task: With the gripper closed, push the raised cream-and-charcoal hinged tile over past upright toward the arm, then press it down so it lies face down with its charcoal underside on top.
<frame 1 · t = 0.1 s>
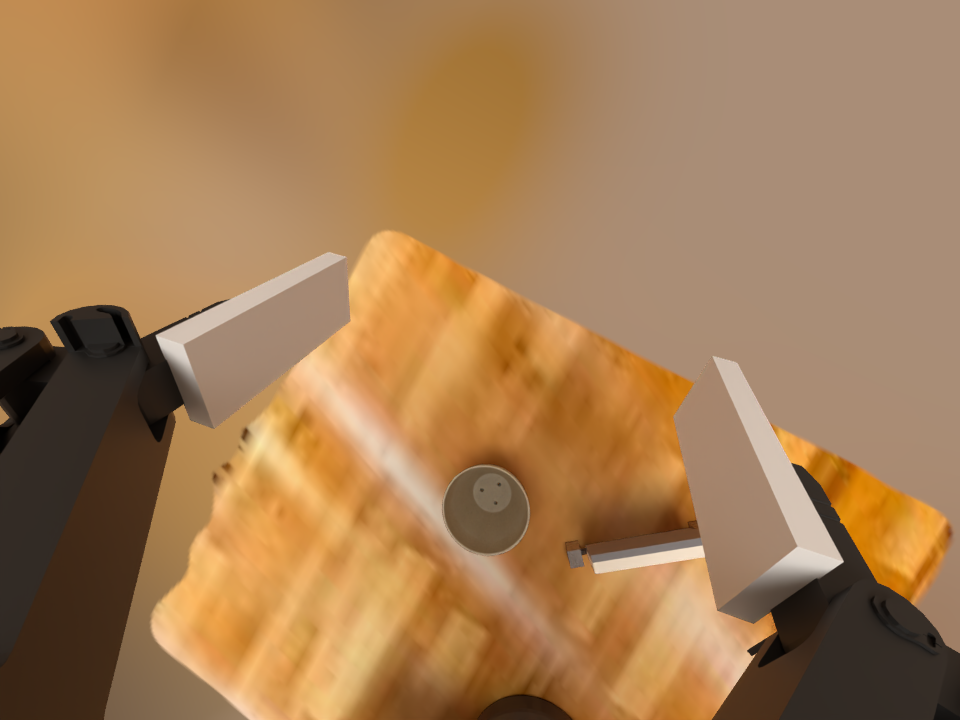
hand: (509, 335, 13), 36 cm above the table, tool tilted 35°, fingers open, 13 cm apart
hinge bracket: (633, 539, 46), on the table
flower pot: (492, 490, 49), on the table
tile: (647, 548, 39), point 8 cm above the table, hinge at 70.0°
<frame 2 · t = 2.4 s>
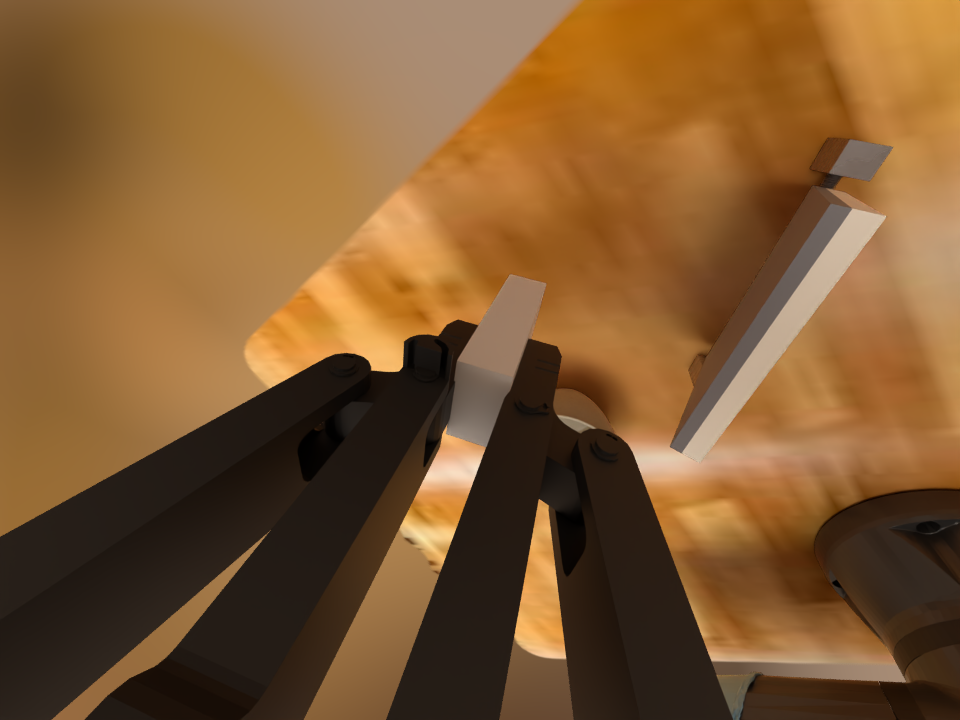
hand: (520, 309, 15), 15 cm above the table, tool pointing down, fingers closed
hinge bracket: (760, 278, 26), on the table
flower pot: (565, 407, 36), on the table
tile: (759, 315, 20), point 8 cm above the table, hinge at 70.0°
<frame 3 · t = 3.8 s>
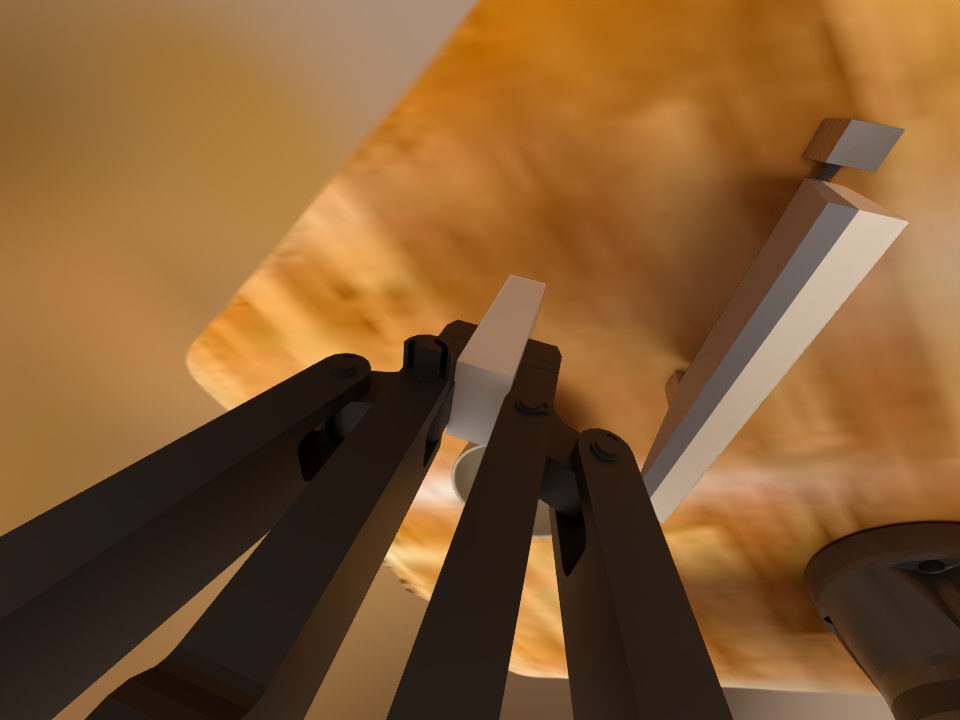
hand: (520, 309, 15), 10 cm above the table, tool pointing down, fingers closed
hinge bracket: (744, 287, 22), on the table
flower pot: (532, 426, 33), on the table
tile: (739, 338, 16), point 8 cm above the table, hinge at 70.0°
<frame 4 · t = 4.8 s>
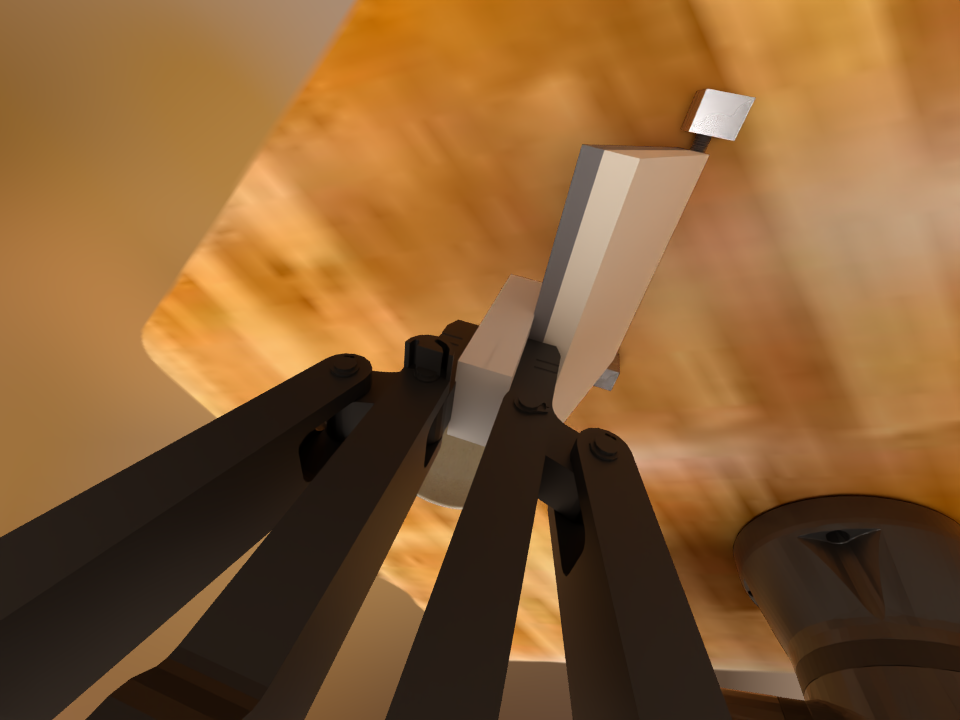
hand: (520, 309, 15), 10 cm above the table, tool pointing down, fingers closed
hinge bracket: (644, 260, 23), on the table
flower pot: (468, 403, 33), on the table
tile: (604, 300, 17), point 8 cm above the table, hinge at 70.6°, touching gripper
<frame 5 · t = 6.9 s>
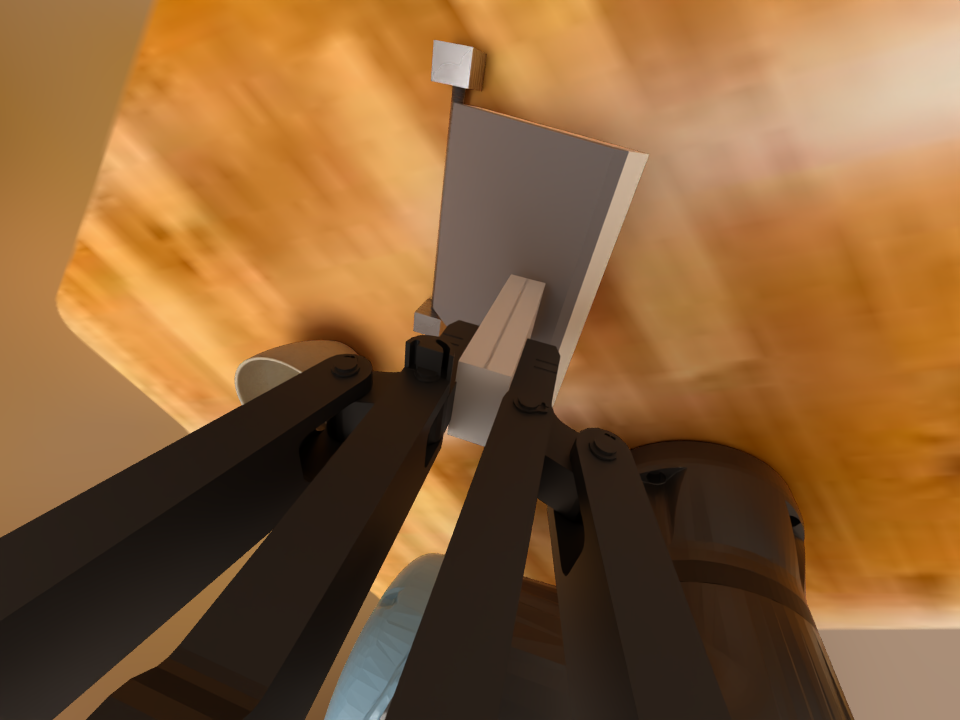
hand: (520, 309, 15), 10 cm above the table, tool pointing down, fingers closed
hinge bracket: (450, 212, 24), on the table
flower pot: (342, 362, 35), on the table
tile: (499, 260, 19), point 6 cm above the table, hinge at 133.4°, touching gripper
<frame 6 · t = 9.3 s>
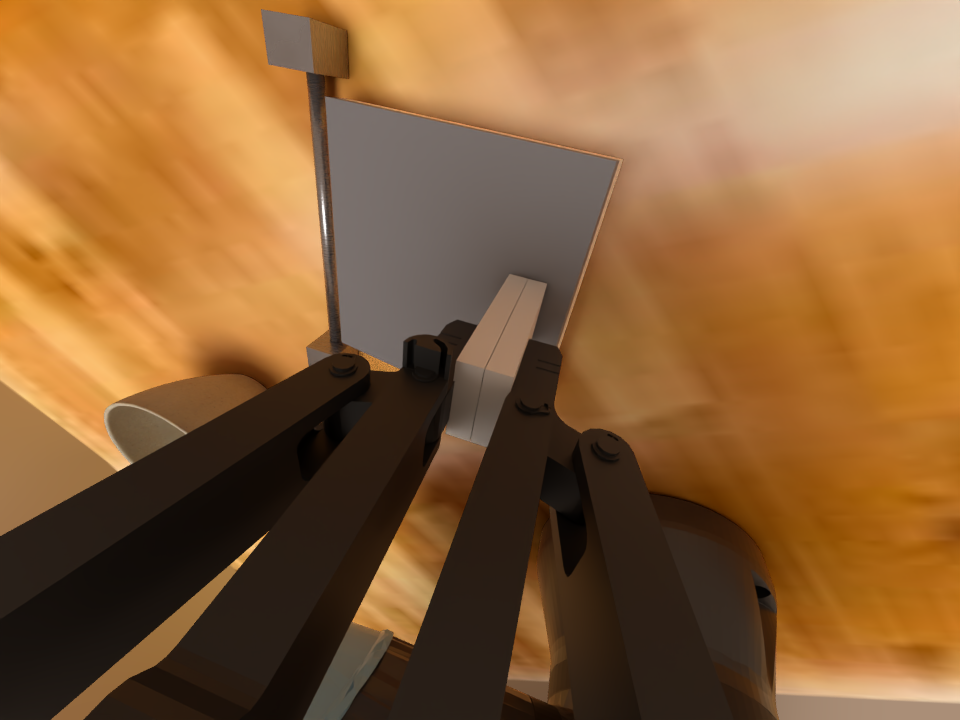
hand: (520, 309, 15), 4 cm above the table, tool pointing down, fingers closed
hinge bracket: (337, 228, 20), on the table
flower pot: (253, 397, 31), on the table
tile: (445, 274, 17), point 2 cm above the table, hinge at 169.6°, touching gripper
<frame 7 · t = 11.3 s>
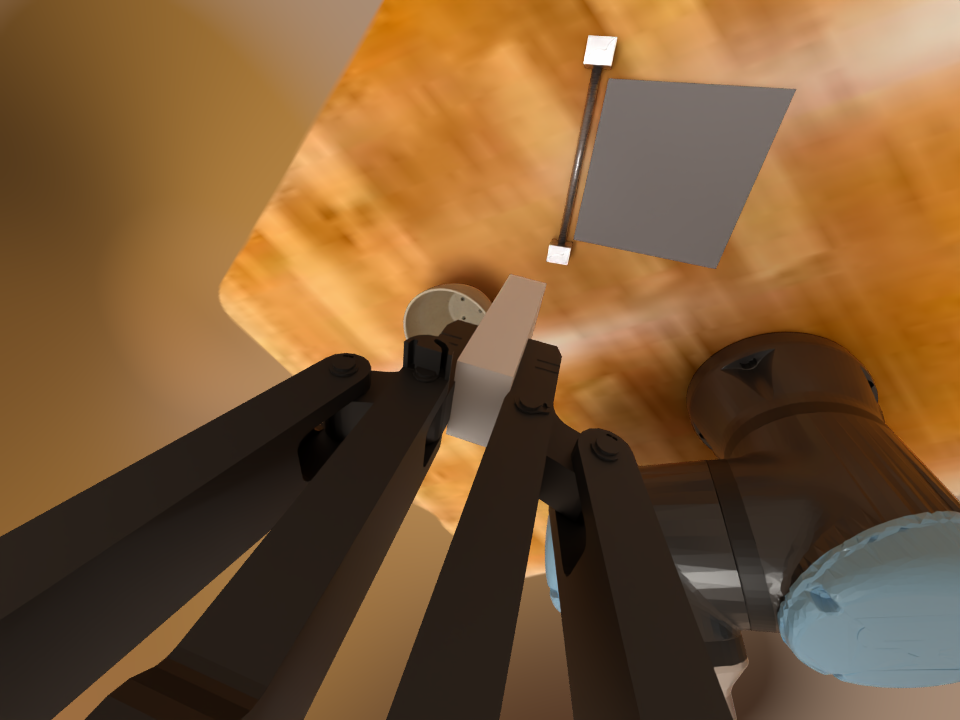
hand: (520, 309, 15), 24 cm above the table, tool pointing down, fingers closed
hinge bracket: (578, 164, 33), on the table
flower pot: (469, 307, 44), on the table
tile: (665, 177, 30), point 2 cm above the table, hinge at 169.6°
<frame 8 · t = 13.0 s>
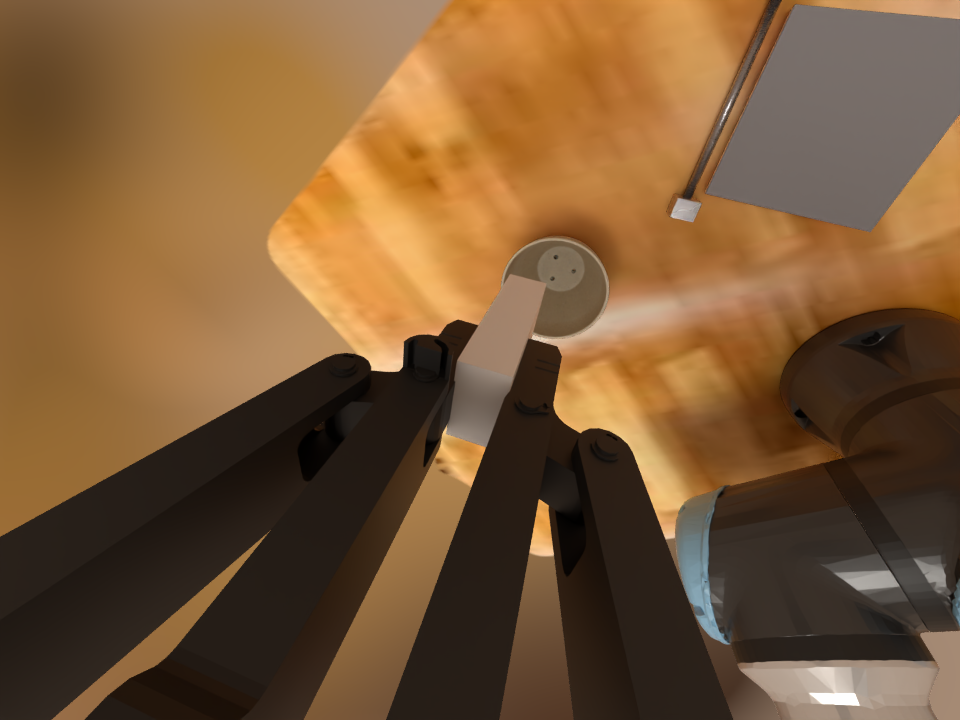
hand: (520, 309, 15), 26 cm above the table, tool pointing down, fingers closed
hinge bracket: (724, 108, 30), on the table
flower pot: (560, 267, 41), on the table
tile: (832, 125, 27), point 2 cm above the table, hinge at 169.6°
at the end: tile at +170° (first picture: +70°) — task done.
